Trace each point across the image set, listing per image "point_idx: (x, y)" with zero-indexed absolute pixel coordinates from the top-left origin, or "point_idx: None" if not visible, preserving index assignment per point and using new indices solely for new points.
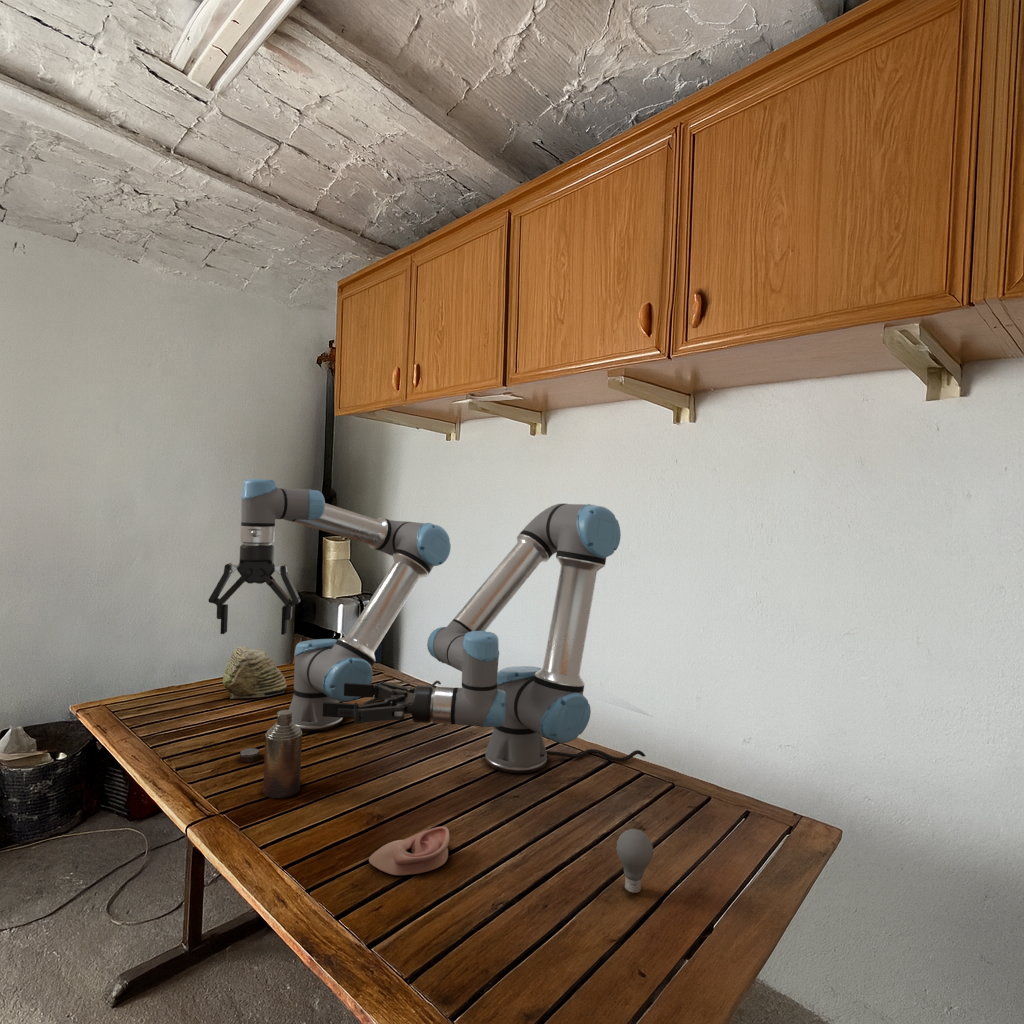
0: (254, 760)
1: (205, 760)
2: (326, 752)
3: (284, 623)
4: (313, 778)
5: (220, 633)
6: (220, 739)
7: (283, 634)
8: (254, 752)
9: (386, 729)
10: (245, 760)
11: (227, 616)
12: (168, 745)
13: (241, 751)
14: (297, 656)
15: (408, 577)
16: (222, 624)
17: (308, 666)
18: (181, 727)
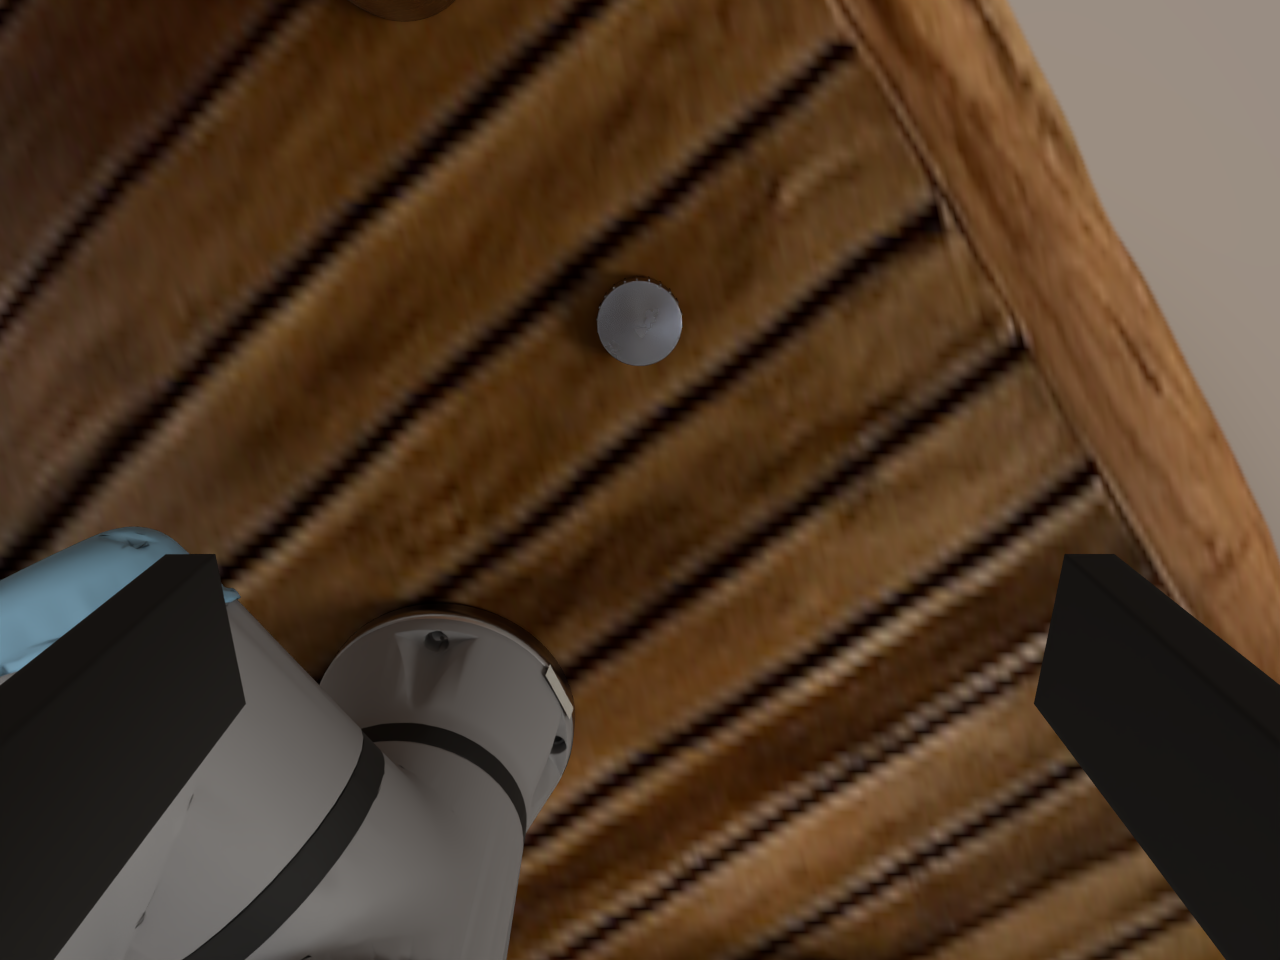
0: (610, 289)
1: (832, 312)
2: (306, 375)
3: (54, 653)
4: (282, 64)
5: (1118, 558)
6: (817, 545)
7: (180, 555)
8: (614, 311)
9: None
10: (648, 277)
11: (1174, 881)
12: (1026, 489)
13: (679, 328)
14: (454, 958)
15: None
16: (1183, 632)
17: (351, 824)
18: (1009, 680)
